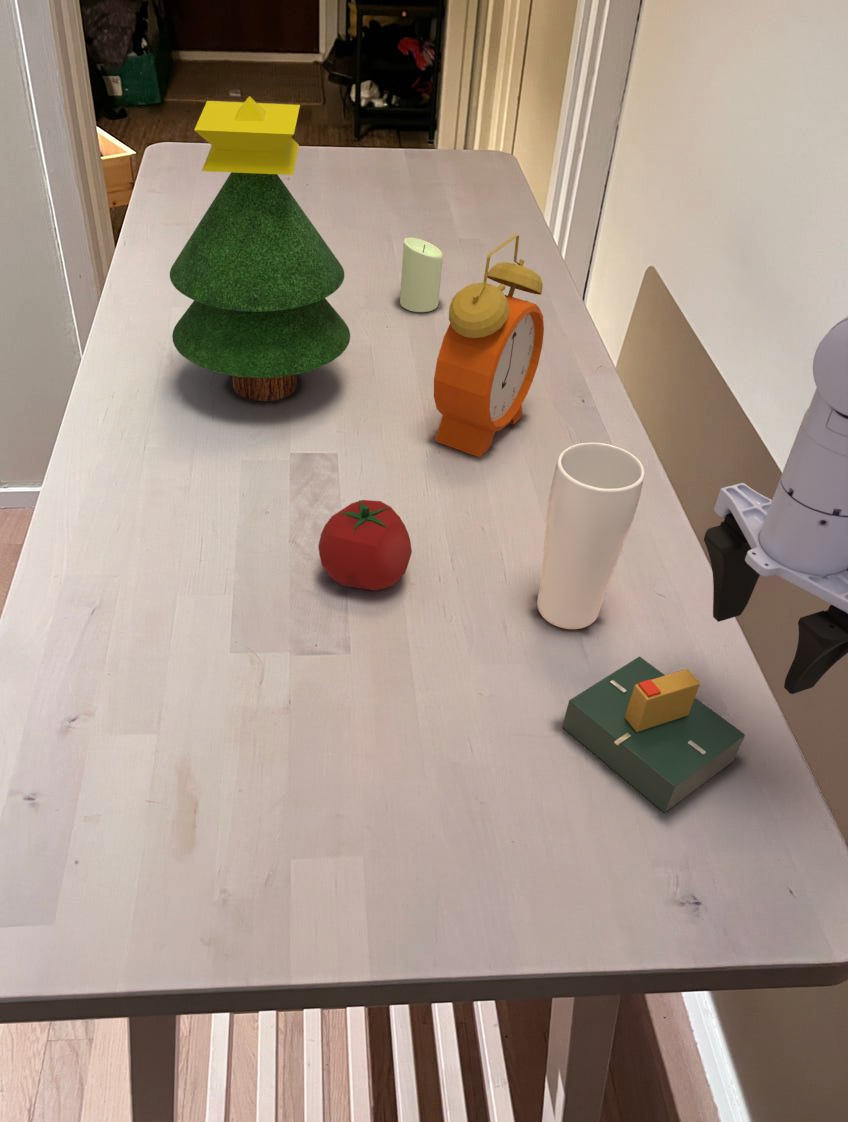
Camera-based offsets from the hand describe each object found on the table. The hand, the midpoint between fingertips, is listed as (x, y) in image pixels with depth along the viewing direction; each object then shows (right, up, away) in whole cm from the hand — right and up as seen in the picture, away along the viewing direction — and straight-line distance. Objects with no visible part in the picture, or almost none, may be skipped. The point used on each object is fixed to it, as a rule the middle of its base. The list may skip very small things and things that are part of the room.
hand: (761, 650), depth 69 cm
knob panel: (-6, -7, +6) cm, 11 cm away
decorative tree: (-39, +29, +43) cm, 65 cm away
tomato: (-28, +6, +19) cm, 34 cm away
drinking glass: (-10, +3, +16) cm, 20 cm away
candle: (-21, +43, +59) cm, 76 cm away
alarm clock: (-15, +23, +38) cm, 47 cm away
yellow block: (-6, -5, +4) cm, 9 cm away
